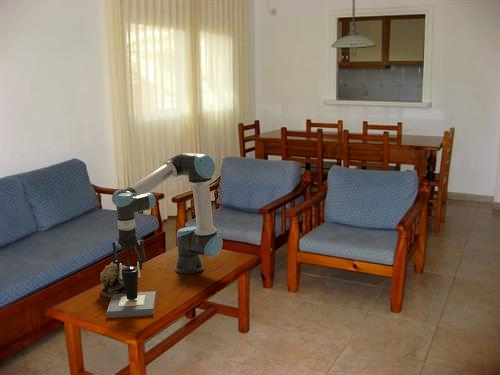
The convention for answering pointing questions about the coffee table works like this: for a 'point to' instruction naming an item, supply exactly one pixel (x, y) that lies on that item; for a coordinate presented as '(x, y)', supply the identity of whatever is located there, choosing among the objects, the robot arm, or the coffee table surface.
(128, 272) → the drinking cup
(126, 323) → the coffee table surface
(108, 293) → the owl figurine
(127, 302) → the base
